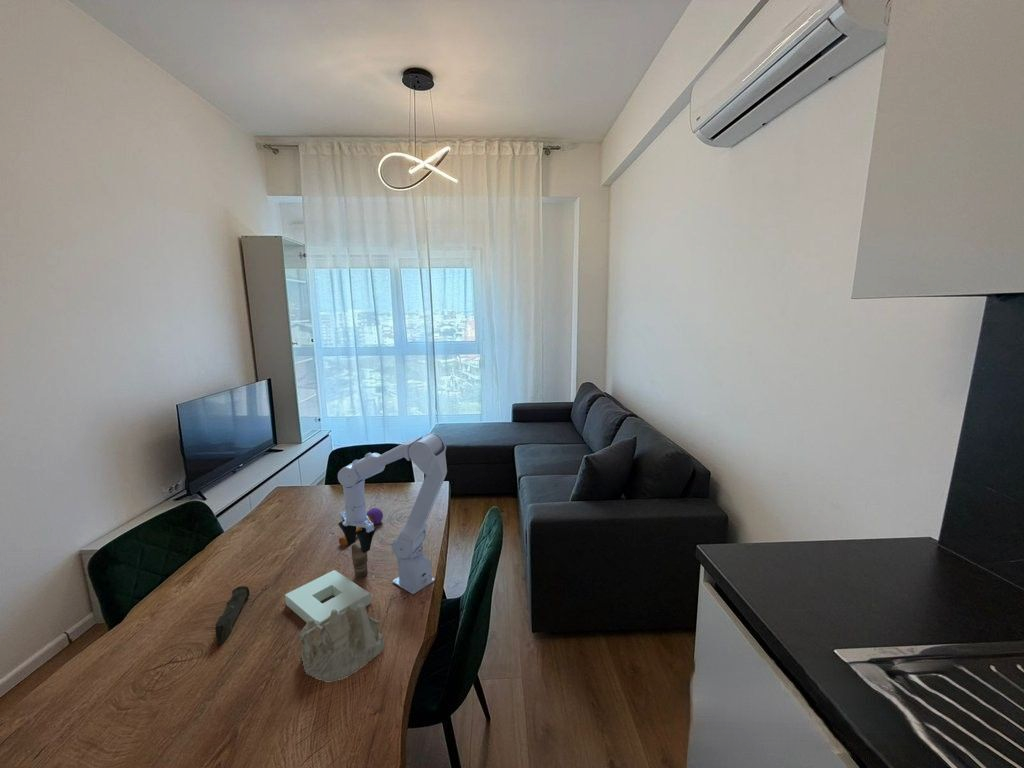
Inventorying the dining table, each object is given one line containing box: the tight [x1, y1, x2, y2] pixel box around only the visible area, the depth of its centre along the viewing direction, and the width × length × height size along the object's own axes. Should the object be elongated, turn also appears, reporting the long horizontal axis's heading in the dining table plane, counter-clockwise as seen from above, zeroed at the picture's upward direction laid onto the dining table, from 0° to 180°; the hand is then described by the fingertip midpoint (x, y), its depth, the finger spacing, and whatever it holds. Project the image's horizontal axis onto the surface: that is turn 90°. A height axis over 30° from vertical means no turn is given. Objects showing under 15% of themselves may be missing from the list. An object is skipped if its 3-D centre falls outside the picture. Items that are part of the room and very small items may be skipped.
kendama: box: [338, 507, 384, 547], centre depth 152 cm, size 6×6×20 cm
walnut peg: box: [350, 542, 369, 579], centre depth 126 cm, size 4×4×9 cm
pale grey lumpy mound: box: [298, 603, 385, 681], centre depth 96 cm, size 16×16×15 cm
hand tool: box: [214, 585, 251, 647], centre depth 108 cm, size 19×4×5 cm, turn 16°
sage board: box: [284, 569, 372, 623], centre depth 114 cm, size 18×14×3 cm
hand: (358, 547), depth 126 cm, fingers open, 7 cm apart
